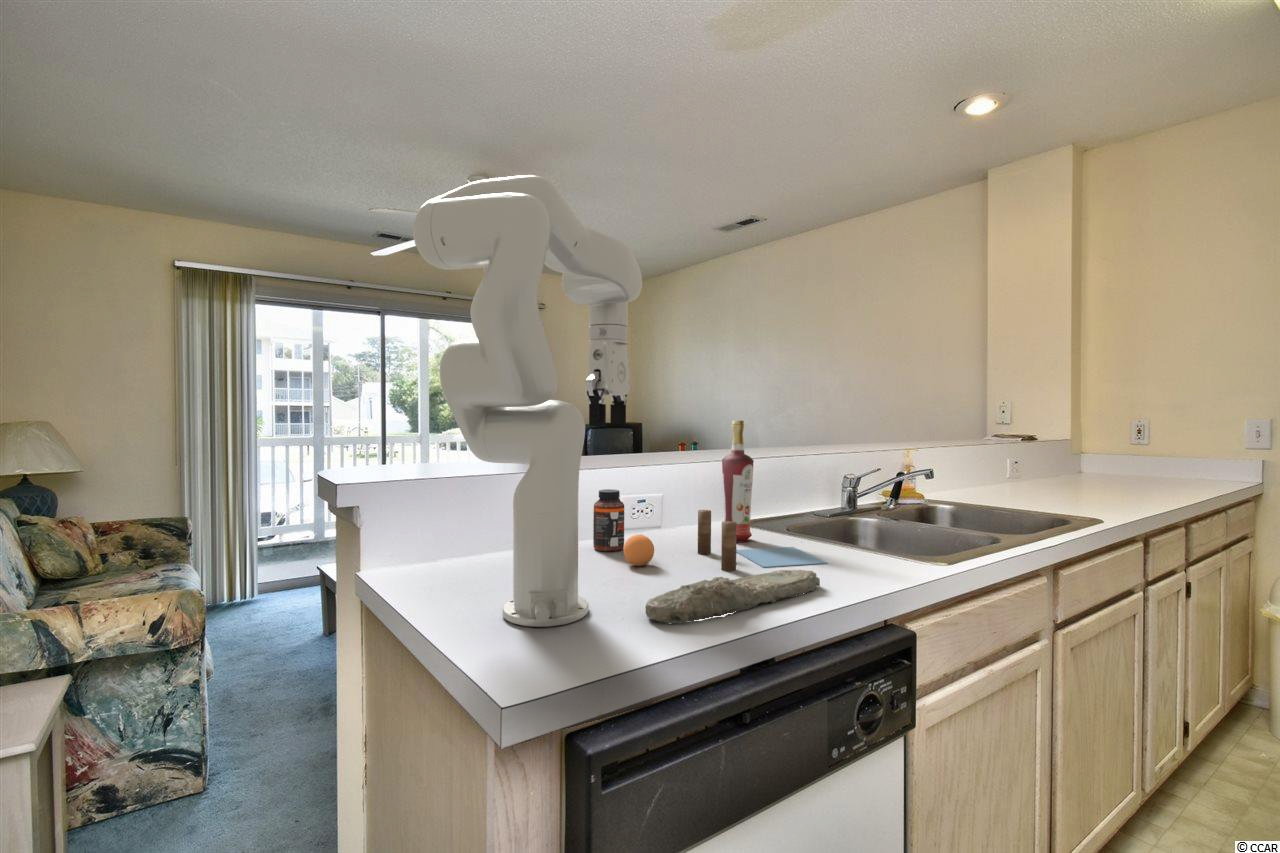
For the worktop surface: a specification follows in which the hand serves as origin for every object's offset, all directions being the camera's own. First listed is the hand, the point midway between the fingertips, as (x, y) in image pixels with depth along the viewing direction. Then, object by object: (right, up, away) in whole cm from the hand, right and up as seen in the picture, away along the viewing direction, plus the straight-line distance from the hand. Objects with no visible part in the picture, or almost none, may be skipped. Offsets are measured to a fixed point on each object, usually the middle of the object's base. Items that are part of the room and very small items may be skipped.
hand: (608, 424), depth 115 cm
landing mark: (+35, -27, +7) cm, 45 cm away
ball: (+6, -24, 0) cm, 25 cm away
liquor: (+29, -27, +23) cm, 46 cm away
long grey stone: (+22, -29, -21) cm, 42 cm away
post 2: (+23, -28, -3) cm, 36 cm away
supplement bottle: (-1, -27, +14) cm, 31 cm away
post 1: (+20, -27, +10) cm, 35 cm away
